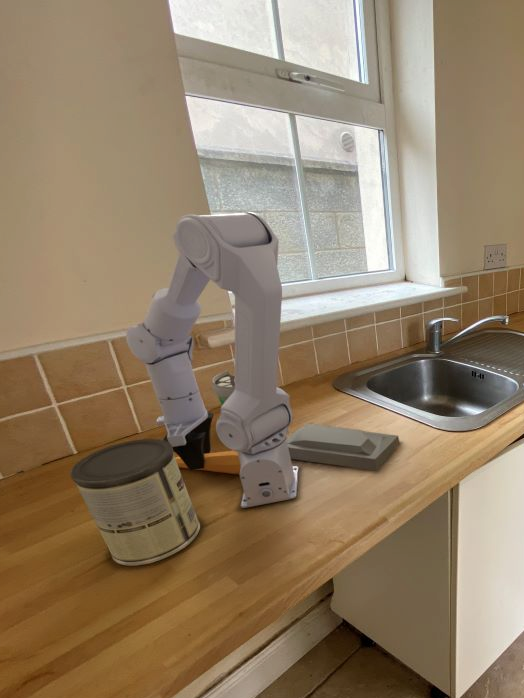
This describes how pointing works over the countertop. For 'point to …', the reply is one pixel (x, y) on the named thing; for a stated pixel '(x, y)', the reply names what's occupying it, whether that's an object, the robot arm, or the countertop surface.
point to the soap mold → (341, 446)
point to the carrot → (218, 462)
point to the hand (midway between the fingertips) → (200, 460)
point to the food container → (223, 386)
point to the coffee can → (137, 500)
